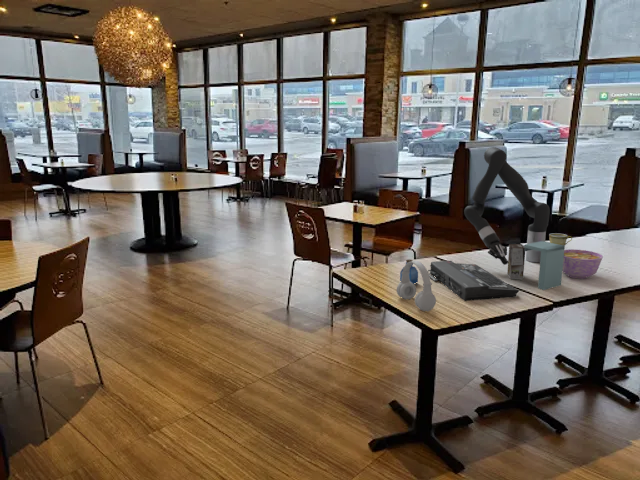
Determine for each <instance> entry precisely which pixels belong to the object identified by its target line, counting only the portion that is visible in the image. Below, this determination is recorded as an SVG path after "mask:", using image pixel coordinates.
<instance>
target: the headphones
mask: <svg viewBox="0 0 640 480" xmlns="http://www.w3.org/2000/svg"><path fill="white" fill-rule="evenodd" d="M412 264H413V265H415V267H416V268H417V269H418V270H419V272H420V274H421V278H422V282H423V283H422V286H423V288H422V290H421V291H419V292H417V285H414V284H413V283H412V282H411V281H410V279H409V273H410V272H409V270H410V267H411V266H413V265H412ZM403 267H404V269H403V268H402V269H403V272H401V271H400V272H401V274H402V278H401V282H400V281H399V283H398V284H397V287H396V294H397V296H398V297H400V298H401V297H402V298H401V299H403V300H406V299H409V300H411V298H412V299H413V298H414V304H415V306H416V307H417V308H418V309H419V310H420V311H422V312H425V311H427V312H430V311H431V310H432V309H434V307H435V306H436V303H437V298H436V296H435V294H433V293H434V292H433V291H432V285H433V282H431V277H430V276H429V274H430V273H429V271H428V269H427V268H426V265H424V263H422V262H421V261H419V260H414V261H412V262H408V263H407V264H406V263H405V265H404V266H403ZM416 293H417V294H416ZM415 295H416V296H415Z"/></svg>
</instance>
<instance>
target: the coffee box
mask: <svg viewBox="0 0 640 480" xmlns="http://www.w3.org/2000/svg"><path fill="white" fill-rule="evenodd" d="M524 246H525V245H523V244H519V243H518V244H517V243H514V244H511V243H510V244H508V254H507V257H508V259H507V260H508V263H507V276H508V277H509V279H511V280H524V271H525V261H526V251H524Z"/></svg>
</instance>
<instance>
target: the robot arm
mask: <svg viewBox="0 0 640 480" xmlns="http://www.w3.org/2000/svg"><path fill="white" fill-rule="evenodd" d="M483 159H484V160H485V162H486V164H488V167H487V170H486V172H485V174H484V175H483V177H482V178H481V179H480V180H479V182H478V184H477V185H476V187H475V189H474V192H473V195H472V196H471V197H472V198H471V200H472V201H473V205H467V206H465V208H464V210H463V212H464V213H463V215H464V216H465V218H466V219H467V221H469V223H470V224H471V225H472V226H473V227H474V228H475V230H476V231H477V233H478V234H479V237H480V239H481V240H482V242H483V243H484V246H486V248H488V251H487V253H488V254H489V255H490V256H492V258H494V259H496V260H497V259H499V261H500V262H501V264H503V266H505V265H508V259H507V258H506V256H508V246H504V245H503V244H502V243H501V242H500V238H499V236H498V235H497V233H496V232H495V230H494V229H493V228H492V227H491V225H490V223H489V222H488V220H487V219H485V218H483V217H482V216H483V214H484V211H485V204H486V203H485V202H486V200H487V197H488V195H489V192H490V190H491V187H492V185H493V184H494V182H495V179H496V178H497V177H498V176H499V178H500V180H501V181H502V182H503V184H504V185H505V186H506V188H507V189H508V190H509V191H510V192H511V194H513V196H514V197H515V198H516V200H517V201H518V202H519V204H520V205H521V206H522V208H523V210H524V211H525V212H526V214H527V216H529V217H530V218H533V223H531V224H529V225H528V227H527V238H526V239H527V240H526V244H530V243H535V242H540V241H544V242H546V235H547V234H546V233H547V228H548V226H549V220H550V213H551V209H550V206H549V205H548V203H546V202H545V203H544V202H540V201H537V200H536V199H534V198H533V196H532V195H531V193H530V189H529V188H530V187H529V184H528V183H527V180H525V178H524V177H523V176H522V174H521V173H519V171H517V170H516V169H515V168H514V167H512V166H511V165H510V164H509V163H508V162H507V152H505V151H504V150H502V149H500V148H498V147H494V146H491V147H488V148H486V150H485V151H484V154H483ZM540 258H541V251H537V250H529V251H525V261H527V262H532V263H540Z"/></svg>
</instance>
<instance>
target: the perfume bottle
mask: <svg viewBox="0 0 640 480" xmlns="http://www.w3.org/2000/svg"><path fill="white" fill-rule="evenodd" d="M405 261H406V262H405V265H406V264H407V263H408V262H412V261H413V259H406V260H405ZM413 265H414V264H412V266H411V267H410V270H409V272H410V273H409V279H410V281H411V282H412V283H413V284H414V283H416V282H418V283H419V271H418V270H417V269H418V268H417V267H416V266H413ZM403 269H404V266H403V267H402V269H401V270H400V272H399V273H400V274H399V275H400V276H399V282H400V281H401V278H402V274H401V272H403Z"/></svg>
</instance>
